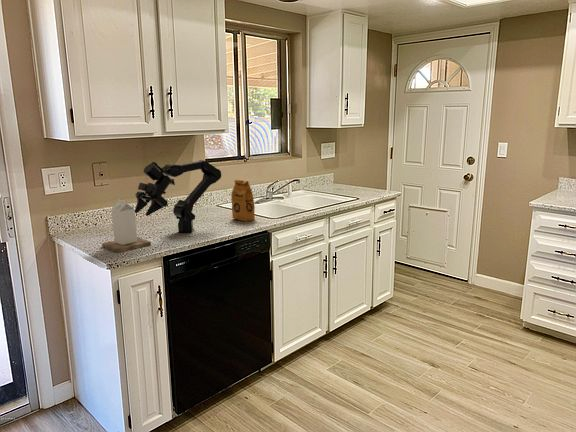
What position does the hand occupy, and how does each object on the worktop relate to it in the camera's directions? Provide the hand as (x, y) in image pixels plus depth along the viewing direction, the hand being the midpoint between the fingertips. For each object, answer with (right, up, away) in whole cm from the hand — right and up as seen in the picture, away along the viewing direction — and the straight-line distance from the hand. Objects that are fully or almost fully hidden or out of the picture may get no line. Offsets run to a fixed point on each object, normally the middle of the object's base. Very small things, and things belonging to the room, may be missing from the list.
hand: (140, 214), depth 196 cm
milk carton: (-5, -13, -3) cm, 14 cm away
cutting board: (-5, -14, -3) cm, 15 cm away
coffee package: (+42, -3, +44) cm, 61 cm away
